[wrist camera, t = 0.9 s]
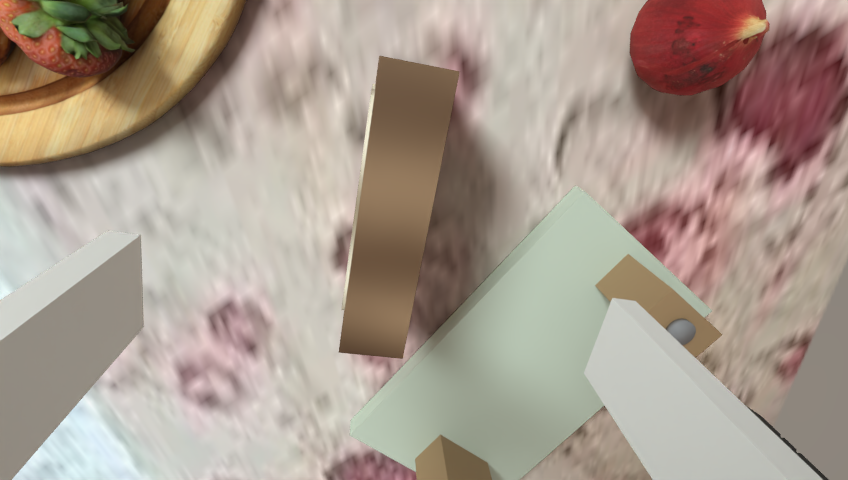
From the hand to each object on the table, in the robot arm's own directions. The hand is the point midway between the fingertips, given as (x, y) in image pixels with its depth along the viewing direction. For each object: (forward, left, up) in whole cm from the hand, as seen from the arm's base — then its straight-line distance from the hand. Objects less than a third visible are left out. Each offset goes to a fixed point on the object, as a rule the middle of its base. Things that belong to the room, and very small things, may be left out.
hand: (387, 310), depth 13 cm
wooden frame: (0, 0, -17) cm, 17 cm away
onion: (-16, +7, -17) cm, 25 cm away
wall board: (+5, +17, -17) cm, 24 cm away
